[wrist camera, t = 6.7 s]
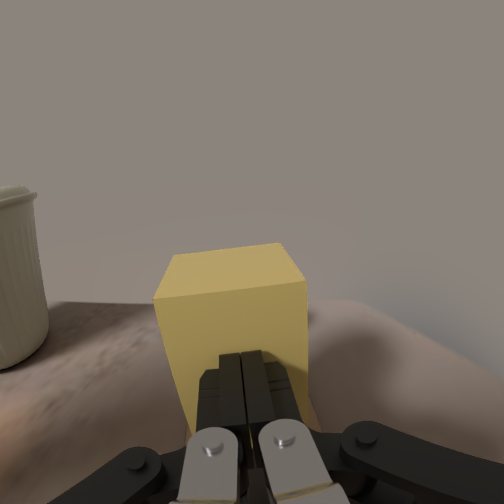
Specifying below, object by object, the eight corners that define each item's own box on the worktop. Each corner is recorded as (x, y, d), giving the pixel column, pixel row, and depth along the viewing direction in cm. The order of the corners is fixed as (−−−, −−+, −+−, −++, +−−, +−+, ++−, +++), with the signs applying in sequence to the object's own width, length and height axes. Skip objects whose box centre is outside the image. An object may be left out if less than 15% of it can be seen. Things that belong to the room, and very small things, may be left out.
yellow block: (208, 479, 13) (152, 298, 10) (209, 416, 17) (174, 255, 15) (306, 467, 13) (306, 280, 10) (289, 406, 18) (279, 242, 15)
